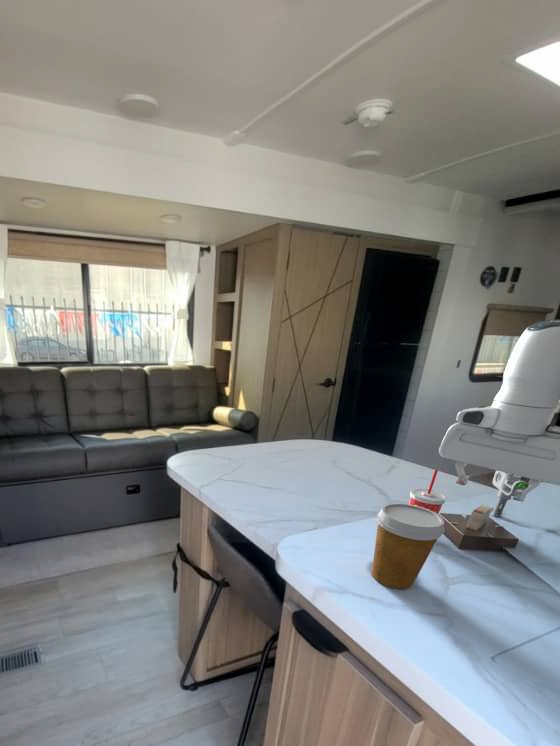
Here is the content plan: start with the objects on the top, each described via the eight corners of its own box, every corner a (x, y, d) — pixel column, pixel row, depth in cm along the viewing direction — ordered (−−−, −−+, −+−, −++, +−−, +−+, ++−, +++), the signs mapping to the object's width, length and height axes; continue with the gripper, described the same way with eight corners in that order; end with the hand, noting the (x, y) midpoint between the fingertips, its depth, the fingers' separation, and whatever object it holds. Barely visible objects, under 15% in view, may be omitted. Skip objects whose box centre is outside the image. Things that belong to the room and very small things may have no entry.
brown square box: (483, 528, 86) (488, 515, 85) (514, 553, 77) (520, 538, 76) (433, 524, 87) (437, 511, 86) (458, 549, 78) (463, 534, 76)
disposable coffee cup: (436, 586, 66) (460, 520, 61) (400, 602, 62) (423, 534, 57) (384, 558, 74) (402, 498, 69) (349, 571, 70) (365, 508, 64)
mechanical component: (499, 524, 88) (517, 481, 84) (479, 506, 97) (494, 466, 93) (514, 526, 88) (533, 483, 83) (493, 507, 97) (509, 467, 92)
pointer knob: (476, 519, 83) (483, 502, 81) (486, 522, 82) (493, 505, 80) (466, 527, 80) (472, 510, 78) (476, 530, 78) (483, 513, 77)
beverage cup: (431, 545, 79) (455, 478, 73) (397, 536, 82) (417, 471, 76) (432, 533, 84) (455, 468, 78) (400, 525, 86) (419, 462, 80)
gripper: (599, 430, 66) (561, 506, 72) (460, 407, 80) (438, 473, 86) (593, 435, 63) (553, 515, 69) (448, 411, 77) (426, 479, 83)
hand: (488, 491), depth 78 cm, fingers open, 8 cm apart
